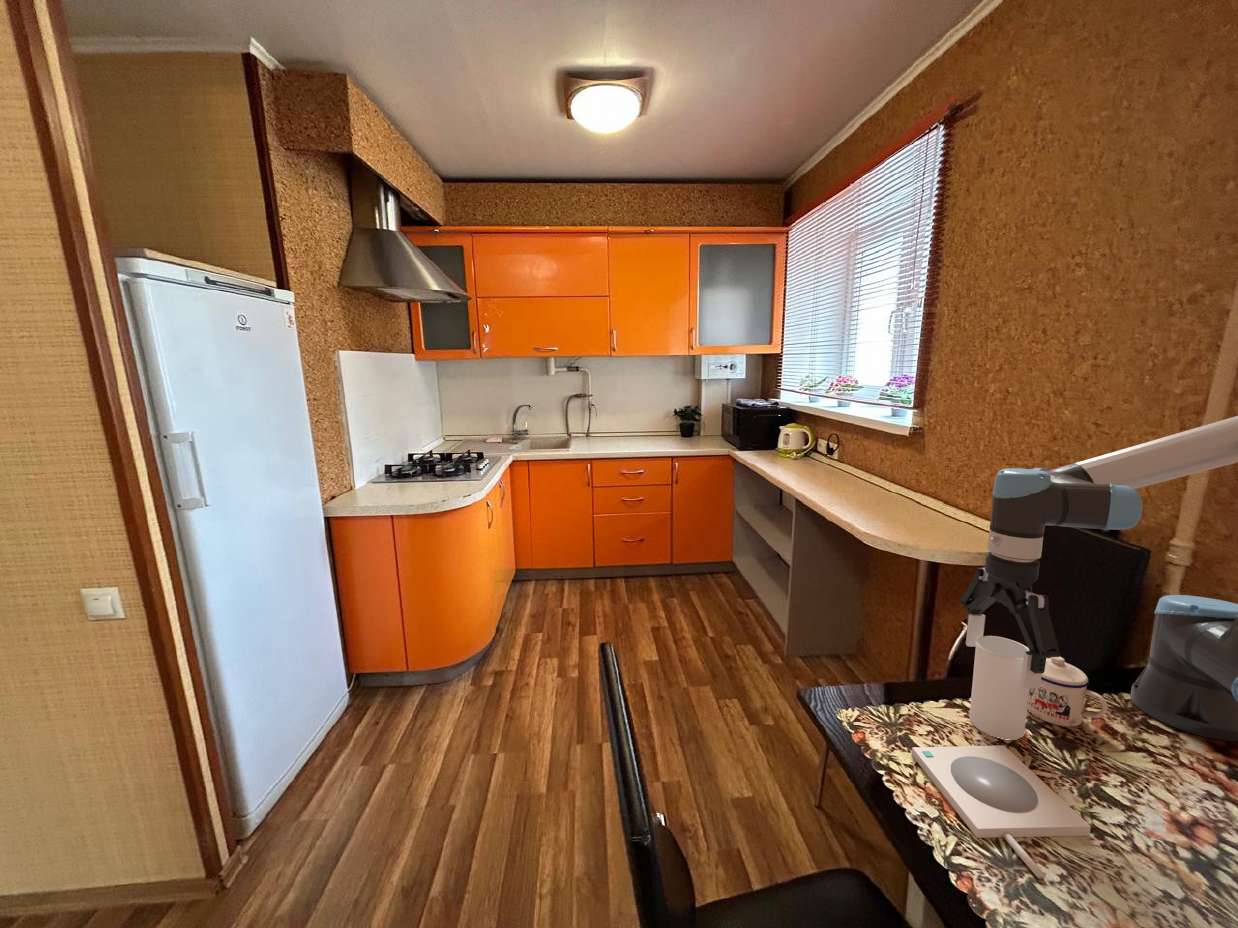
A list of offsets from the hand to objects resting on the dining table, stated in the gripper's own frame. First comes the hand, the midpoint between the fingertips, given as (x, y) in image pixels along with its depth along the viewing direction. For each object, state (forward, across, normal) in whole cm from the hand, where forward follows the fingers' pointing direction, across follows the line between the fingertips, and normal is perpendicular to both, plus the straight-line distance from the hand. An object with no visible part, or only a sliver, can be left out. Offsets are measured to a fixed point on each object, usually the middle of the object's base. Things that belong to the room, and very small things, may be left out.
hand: (999, 664), depth 91 cm
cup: (+12, 0, 0) cm, 13 cm away
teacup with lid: (+12, -2, +14) cm, 19 cm away
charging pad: (+12, +18, -12) cm, 25 cm away
